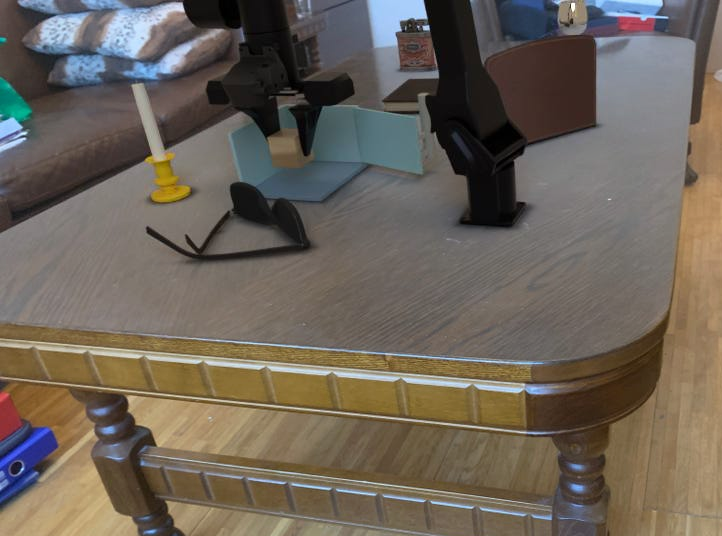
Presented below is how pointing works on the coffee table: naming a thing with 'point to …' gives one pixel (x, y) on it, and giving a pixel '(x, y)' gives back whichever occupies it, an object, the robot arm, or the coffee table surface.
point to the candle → (158, 152)
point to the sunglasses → (252, 208)
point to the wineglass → (572, 17)
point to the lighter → (415, 46)
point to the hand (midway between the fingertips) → (293, 155)
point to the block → (287, 149)
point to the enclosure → (316, 178)
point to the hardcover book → (409, 95)
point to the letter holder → (547, 85)
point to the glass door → (395, 138)
